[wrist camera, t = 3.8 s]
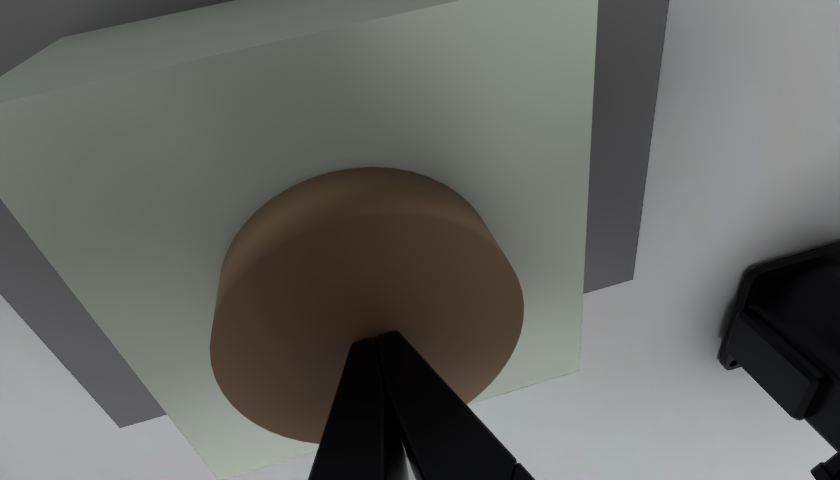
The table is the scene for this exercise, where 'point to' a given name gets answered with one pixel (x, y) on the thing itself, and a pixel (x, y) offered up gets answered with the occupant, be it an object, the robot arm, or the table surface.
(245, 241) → the plunger
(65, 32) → the press base
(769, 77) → the table surface
